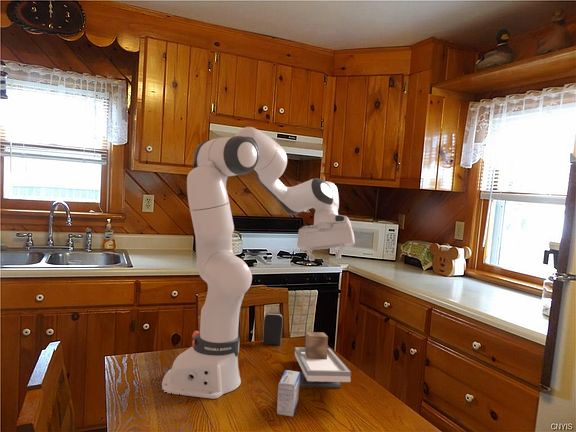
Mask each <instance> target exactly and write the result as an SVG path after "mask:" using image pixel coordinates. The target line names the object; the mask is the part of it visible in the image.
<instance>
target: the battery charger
mask: <svg viewBox="0 0 576 432" xmlns="http://www.w3.org/2000/svg"><path fill="white" fill-rule="evenodd" d="M282 331H283V315H282V314H281V313H280V312H266V313H265V314H264V317H263V335H262V344H264V345H265V344H266V345H274V346H275V345H276V346H277V345H278V346H279V345H281V344H282V333H283V332H282Z"/></svg>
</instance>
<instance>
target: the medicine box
mask: <svg viewBox="0 0 576 432" xmlns="http://www.w3.org/2000/svg"><path fill="white" fill-rule="evenodd" d="M279 380H280V381H279V382H278V389H277V404H276V414H277V415H281V416H287V417H294V414H295V412H296V408H297V405H298V404H299V403H298V402H299V393H300V372H298V371H295V370H290V369H289V370H288V369H285V370H284V372H283V374H282V376H281V378H280V379H279Z"/></svg>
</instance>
